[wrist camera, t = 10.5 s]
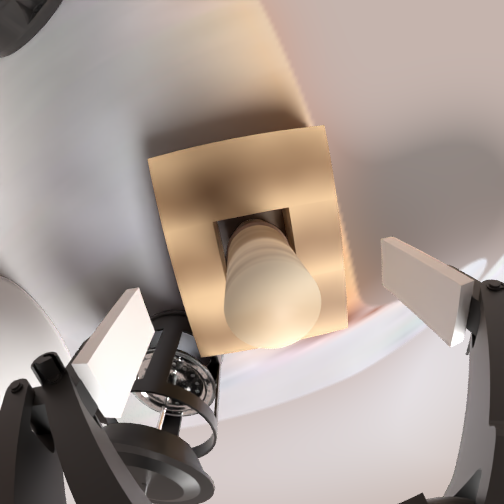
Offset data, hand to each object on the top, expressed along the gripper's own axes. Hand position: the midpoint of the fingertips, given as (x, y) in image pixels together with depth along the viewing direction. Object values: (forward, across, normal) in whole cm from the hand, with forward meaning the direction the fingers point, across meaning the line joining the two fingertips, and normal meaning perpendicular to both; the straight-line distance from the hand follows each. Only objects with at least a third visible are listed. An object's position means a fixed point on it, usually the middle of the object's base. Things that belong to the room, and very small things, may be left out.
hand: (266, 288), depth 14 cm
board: (+13, 0, -1) cm, 13 cm away
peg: (+13, 0, -1) cm, 13 cm away
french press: (+12, -10, -11) cm, 19 cm away
